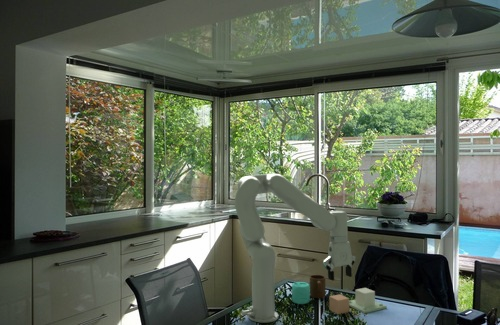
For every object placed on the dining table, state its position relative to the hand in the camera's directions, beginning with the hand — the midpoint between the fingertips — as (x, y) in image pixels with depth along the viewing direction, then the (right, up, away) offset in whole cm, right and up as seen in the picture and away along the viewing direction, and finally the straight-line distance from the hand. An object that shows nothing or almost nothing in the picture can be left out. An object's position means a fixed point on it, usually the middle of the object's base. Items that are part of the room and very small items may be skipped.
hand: (340, 277), depth 176 cm
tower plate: (+13, -14, +5) cm, 20 cm away
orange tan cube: (0, -15, 0) cm, 15 cm away
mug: (-7, -15, +17) cm, 23 cm away
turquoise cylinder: (-16, -15, +12) cm, 25 cm away
